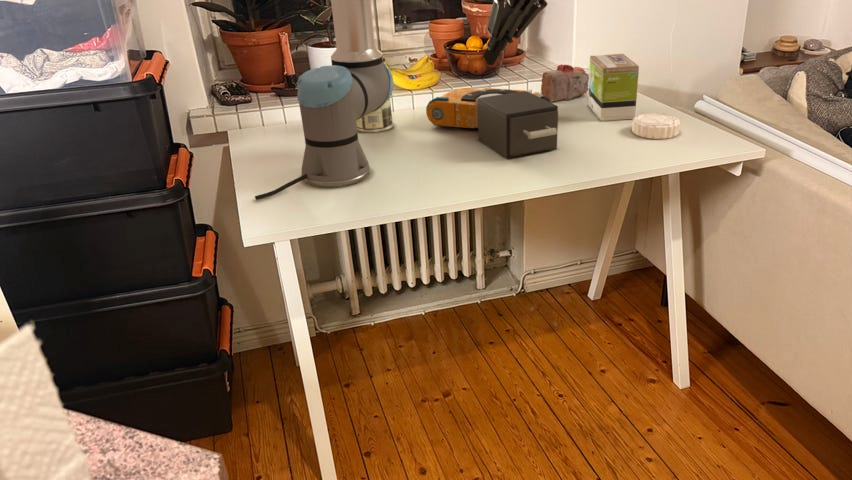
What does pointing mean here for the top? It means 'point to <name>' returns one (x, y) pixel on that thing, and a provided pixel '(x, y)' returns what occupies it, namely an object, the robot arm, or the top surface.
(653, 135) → the mooncake
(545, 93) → the food item
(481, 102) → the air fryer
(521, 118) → the drawer
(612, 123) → the top surface
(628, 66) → the tea box
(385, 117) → the coffee can
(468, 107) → the device
